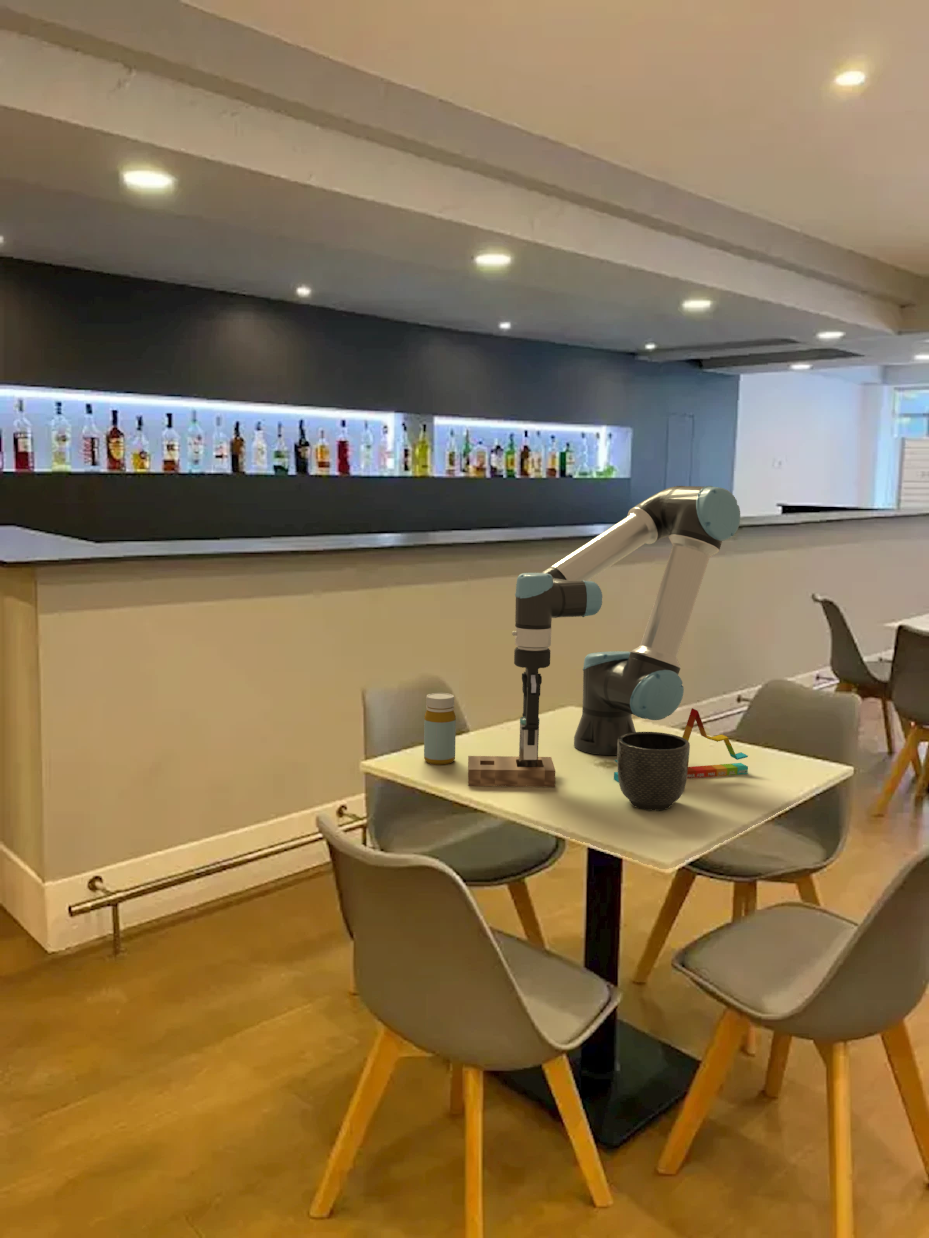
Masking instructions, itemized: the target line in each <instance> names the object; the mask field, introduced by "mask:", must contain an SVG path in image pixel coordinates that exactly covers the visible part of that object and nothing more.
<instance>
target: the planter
mask: <svg viewBox="0 0 929 1238" xmlns="http://www.w3.org/2000/svg"><path fill="white" fill-rule="evenodd" d="M682 737H683V736H679V735H676V734H671V733H668V732H667V733H666V732H660V731H659V732H658V731H636V732H633V733H627V734H624V735H621V736H620V737H619V738H618V741H617V755H616V758H617V759H616V760H617V762H616V763H617V764H616V765H617V772H618V780H619V783H618V784H619V788H620V791H621V793H622V794H623V796H624V797H625V798H627V800H629V803H630V805H632V806H633V807H635V808H638V809H639V810H645V811H663V810H665V811H666V810H667V809H669V808H671V807H672V806H673V804H674V803H675V802H677V801H678V800H680V798H681V797H682V795H683V794H684V791H685V789H686V784H687V779H688V778H687V772H688V767H689V761H690V751H691V745H690V743H691V742H689V741H687V740H686V739H684V738H682Z"/></svg>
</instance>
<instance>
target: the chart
mask: <svg viewBox="0 0 929 1238" xmlns="http://www.w3.org/2000/svg"><path fill="white" fill-rule="evenodd" d="M700 715H701V714H700V713H699V710H697V709H695V708H691V709H690V713H689V716H688V719H687V723H686V725H685V728H684V732H683V734H682V736H681V737H682V738H684V739H686V740H687V741H688V742H689V740H690V737H691V734H692V731H693V727H694V726H695V725H694V724H695V722H696V725H697V728H698V730H699V734H700V735H701V737H703V738H706V739H708V740H711V741H714V742H717V743H718V742H722V741H723V742H724V744H725V746H726V749H727V751H728V754H729V755H730V757H731V758H733V759H735V760H742V759H745V758H746V759H747V758H748V757H749V755H747V754H746V753H743V752H738V753H737V752H736V753H735V750H734V748H733V746H732V745H733V744H731V742H730V739H729V737H728V736H726V735H724V734H722V733H721V734H718V735H714V736H711V735H708V734H707V732H706V730H705V727H704V724H703V722H702V718H701V716H700ZM614 762H616V763H617V759H614ZM748 773H749V766H748V765H745V764H744V763H742V762H734V763H732V762H731V763H720V764H710V765H708V764H707V765H696V766H695V765H694V766H688V772H687V779H698V778H699V779H700V778H711V777H723V776H738V775H739V776H740V775H748ZM613 780H614V781H615V782H617V783H618V784H619V780H618V771H615V772H613Z"/></svg>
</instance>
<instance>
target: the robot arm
mask: <svg viewBox="0 0 929 1238" xmlns="http://www.w3.org/2000/svg"><path fill="white" fill-rule="evenodd" d="M740 523H741V509H740V506H739V505H738V500H737V498H736V497H735V495H733V493H732V492H731V491H729V490H728V489H726V488H723V487H717V486H712V485H706V486H705V485H704V486H698V485H697V486H695V485H676V486H670V487H667V488H664V489H663V490H660V491H659V492H657V493H655V494H653V495H651V496H650V497H648V498H646V499H644V500H642V501H641V502H639V503H637V504H636V505H635V506H633V507H632V508H630V509H629V510H628V513H627V516H625V517H624V518H623V519H621V520H620V521H618V522H617V523H615V524H614V525H612V526H610V527H609V528H608V529H606V530H604V531H603V532H601V533H600V534H598V535H597V536H595V537H593V538H592V539H591V540H590V541H588V542H586V543H585V544H583V545H581V546H580V547H579V548H577V549H576V550H574V551H572V552H571V553H569V554H568V555H565V557H563V558H562V559H560V560H559V561H557V562H556V563H554V564H553V565H551V566H550V567H547V569H545V570H543V571H541V572H522V573H520V574H519V575H518V576H517V578H516V584H515V593H514V596H515V612H514V613H515V615H514V618H515V619H514V621H515V624H514V625H515V627H514V628H515V630H513V631H512V632H511V636H514V645H515V646H516V647H515V648H514V652H513V653H514V656H513V664H514V665H515V666H516V667H518V668H521V669H522V668H523V669H524V668H525V671H523V673H521V681H522V694H523V702H522V705H523V707H522V713H521V714H522V716H521V717H524V716H526V724H525V727H522V730H524V760H537V734H538V727H539V728H540V724H539V725H538V719H539V720H540V718H539V716H540V715H539V713H540V697H541V685H542V683H543V682H542V681H543V679H542V677H543V676H542V675H541V673H539V670H540V669H545V668H548V667H550V665H551V649H550V647H551V646H552V623H553V622H552V620H553V619H557V618H577V617H578V618H579V617H580V618H581V617H582V618H586V617H589V616H595V615H597V614H598V613H599V611H600V610H601V609H602V608H601V607H602V605H603V592H602V589H601V588H600V586H599V584H598V583H597V582H595V581H592V579H594V578H595V577H597V576H598V575H600V574H601V573H603V572H604V571H606V570H607V569H609V568H610V567H612V566H613V565H615V564H616V563H618V562H619V561H621V560H622V559H624V558H625V557H626V556H629V555H630V554H631V553H632V552H634V551H636V550H637V549H638V548H640V547H642V546H643V545H645V544H647V545H651V544H654V543H656V542H657V541H659V540H661V539H663V538H664V539H665V538H667V537H668V539H669V541H670V543H671V545H672V547H671V550H670V553H669V556H668V559H667V562H666V565H665V569H664V570H663V571H664V572H663V575H662V578H661V581H660V583H659V587H658V589H657V593H656V596H655V599H654V601H653V606H652V608H651V611H650V614H649V617H648V620H647V623H646V625H645V629H644V632H643V636H642V639H641V641H640V644H639V646H638V647H636V648H633V649H632V650H630V651H625V650H623V651H621V650H619V651H617V650H616V651H598V652H591V653H588V654H587V655H586V656H585V657H584V659H583V668H582V672H583V674H582V675H583V676H582V709H581V710H582V713H581V714H582V715H581V717H580V719H579V721H578V725H577V728H576V731H575V734H574V737H573V738H574V739H573V746H574V748H575V749H577V750H578V751H582V752H584V753H587V754H593V755H599V756H600V755H601V756H617V741H618V738H619V737H620V736H621V735H624V734H627V733H633V732H637V731H636V728H635V725H634V721H633V717H632V716H633V715H634V716H636V717H638V718H640V719H642V720H644V719H645V720H649V721H661V720H664V719H666V718H667V717H670V716H671V715H673V713H674V712H676V711H677V709H678V708H679V707H680V705H681V702H682V700H683V697H684V691H685V690H684V689H685V687H684V686H683V680H682V678H681V677H680V671H681V668H682V666H681V664H680V662H679V660H678V655H679V652H680V649H681V645H682V643H683V641H684V640H683V639H684V637H685V633H686V632H687V631H686V630H687V627H688V625H689V621H690V618H691V615H692V612H693V610H694V606H695V603H696V601H697V598H698V595H699V591H700V588H701V585H702V582H703V580H704V576H705V572H706V570H707V567H708V564H709V561H710V558H712V556H715V555H716V554H718V553H719V552H720V549H721V548H722V547H721V546H722V543H723V541H727V540H729V539H730V538H731V537H733V536H735V534H736V533H737V531H738V530H739V527H740Z"/></svg>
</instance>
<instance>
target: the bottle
mask: <svg viewBox="0 0 929 1238" xmlns="http://www.w3.org/2000/svg"><path fill="white" fill-rule="evenodd" d="M425 699H426V700H425V701H426V711H425V714H424V715H423V716H424V725H423V726H424V727H423V730H424V731H423V733H424V734H423V735H424V737H423V759H424V760H425V762H426V763H428V764H431V765H435V766H436V765H438V766H445V765H449V764H452V763H453V762H454V761H455V760H456V735H457V734H456V733H457V731H456V726H457V725H456V723H457V722H456V721H457V720H456V714H455V707H454V706H455V696H454V694H453V693H452V694H451V693H447V692H434V693H428V694H426V698H425Z"/></svg>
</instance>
